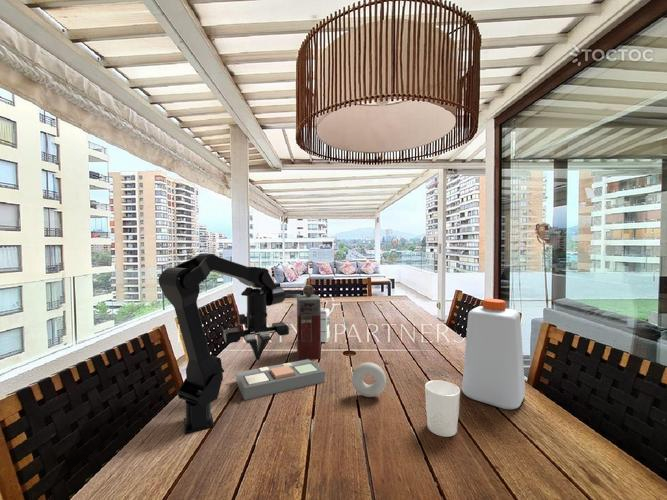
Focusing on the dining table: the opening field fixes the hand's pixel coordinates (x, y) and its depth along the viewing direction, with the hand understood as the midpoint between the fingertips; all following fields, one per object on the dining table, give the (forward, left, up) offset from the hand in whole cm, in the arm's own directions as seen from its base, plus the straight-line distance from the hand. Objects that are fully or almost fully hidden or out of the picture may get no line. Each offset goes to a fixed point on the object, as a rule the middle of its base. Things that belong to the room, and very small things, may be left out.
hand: (257, 359), depth 94 cm
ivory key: (0, 0, -8) cm, 8 cm away
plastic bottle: (-35, -61, -9) cm, 71 cm away
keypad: (+2, -8, -9) cm, 12 cm away
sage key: (0, -16, -7) cm, 18 cm away
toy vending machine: (+19, -25, -9) cm, 33 cm away
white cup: (-40, -35, -9) cm, 54 cm away
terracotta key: (0, -8, -7) cm, 10 cm away
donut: (-19, -28, -9) cm, 35 cm away
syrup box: (+34, -38, -9) cm, 52 cm away
